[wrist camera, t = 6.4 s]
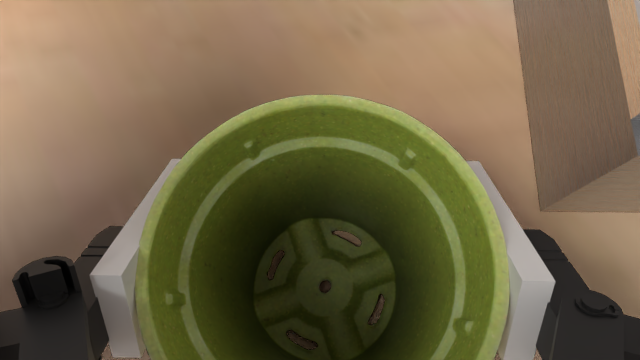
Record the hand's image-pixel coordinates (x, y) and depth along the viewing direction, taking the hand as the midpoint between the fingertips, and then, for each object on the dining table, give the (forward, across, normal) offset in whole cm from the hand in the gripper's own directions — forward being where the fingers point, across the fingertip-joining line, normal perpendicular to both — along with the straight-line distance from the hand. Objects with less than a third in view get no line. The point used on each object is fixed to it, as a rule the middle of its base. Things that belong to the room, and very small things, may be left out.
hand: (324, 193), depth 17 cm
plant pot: (+1, 0, -5) cm, 5 cm away
